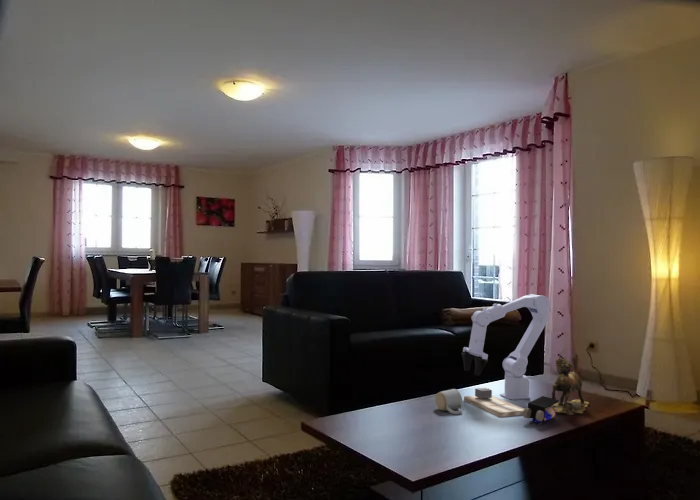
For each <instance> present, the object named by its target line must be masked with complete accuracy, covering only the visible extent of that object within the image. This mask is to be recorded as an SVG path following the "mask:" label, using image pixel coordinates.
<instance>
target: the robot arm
mask: <svg viewBox="0 0 700 500" xmlns="http://www.w3.org/2000/svg"><path fill="white" fill-rule="evenodd" d="M521 308H527V309H528V311H529V312H530V313H531V315H532V320H531V321H530V323H529V325H528V327H527V329H526V331H525V332H524V334H523V336H522V338H521V339H520V341H519V343H518V344H517V346H516V348H515V349H514V351H512V352H510V353H509V355H508V356H507V357H505V358H504V359H503V361H502V368H503V370H504V393H499V396H501V397H504V398H506V399H509V400H512V401H513V400H514V401H515V400H524V399H531V396H530V380H529V378H528V376H527V375H525V373H526V371H527V366H528V363H529V362H528V361H529V360H528V356H529V355H530V353H531V351H532V349H533V348H534V346H535V345H536V342H537V341H538V339H539V337H540V335H541V333H542V332H543V330H544V328H545V326H546V324H548V321H549V310H550V308H551V303H550V300H549V299H548V297H547V296H546V295H538V294H535V293H530V294H527V295H523V296H521V297H518V298H517V299H514V300H512V301H510V302H506V303H505V304H503V305H502V304H500V303H493V304H492V306H490V307H487V308H485V307H484V308H482V310H476V311H475V312H474V313H473V314H472V315H471V321H472V327H471V332H470V337H469V338H470V339H469V343H468V347H467V346H464V347H463V348H462V352H461V353H460V354H461V358H462V362H463V370H464V372H465V371H466V372H469V371H470V370H471V366H472V363H473V361H474V376H477V377H479V376H480V375H481V374H482V371H483V370H484V367H485V366H486V365H487V363H488V362H489V359H488V357H489V354H488V353H485V352H484V345H485V340H486V333H487V326H489V324H490V323H493V322H495V321H498V320H499V319H501V318H504V317H505V316H506V314H507V313H509V312H512V311H515V310H519V309H521ZM480 377H481V376H480Z"/></svg>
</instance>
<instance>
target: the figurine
mask: <svg viewBox="0 0 700 500" xmlns="http://www.w3.org/2000/svg"><path fill="white" fill-rule="evenodd" d="M571 360H572V362H571V361H569V359H568V357H565V358H562V357H558V358H556V360H555V366H556V372H557V373H558V375H557V378H556V379H555V382H554V384H552V392H551V398H552V399H556V398H557V397H556V391H557V392H562V393H561V395H560V397H559V402H558V403H556V404H554V405H552V407H553V408H554V409H555V414H556V415H562V416H572V415H579V416H583V415H584V412H586V410H587V408H588V407H589V406H590V403H589V401H585V398H584V397H583V394H582V387H583V382H582V377H581V376H580V375H579V374H578V373H577V372H578V368H579V367H578V366H579V365H578V364H579V363H578V362H579V361H580V359H579V355H578V354H577V353H576V352H574V354H573V355H572V357H571ZM572 363H573V364H572ZM572 368H573V371H571V370H572ZM575 391H577V393H578V397H579V399H572V400H571V401H569V398H570V395H571V392H575ZM556 400H557V399H556Z"/></svg>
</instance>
